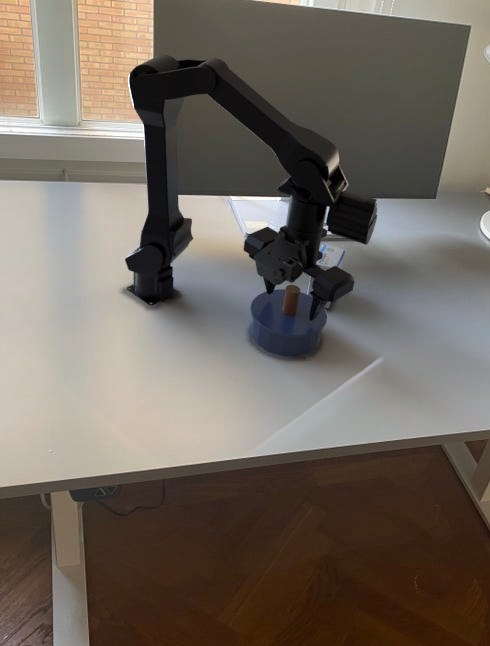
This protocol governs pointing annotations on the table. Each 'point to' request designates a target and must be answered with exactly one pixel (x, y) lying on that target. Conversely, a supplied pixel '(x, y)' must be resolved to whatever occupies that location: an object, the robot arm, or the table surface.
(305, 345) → the dark blue round container
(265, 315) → the cover
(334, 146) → the robot arm
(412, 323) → the table surface
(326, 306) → the medicine box
